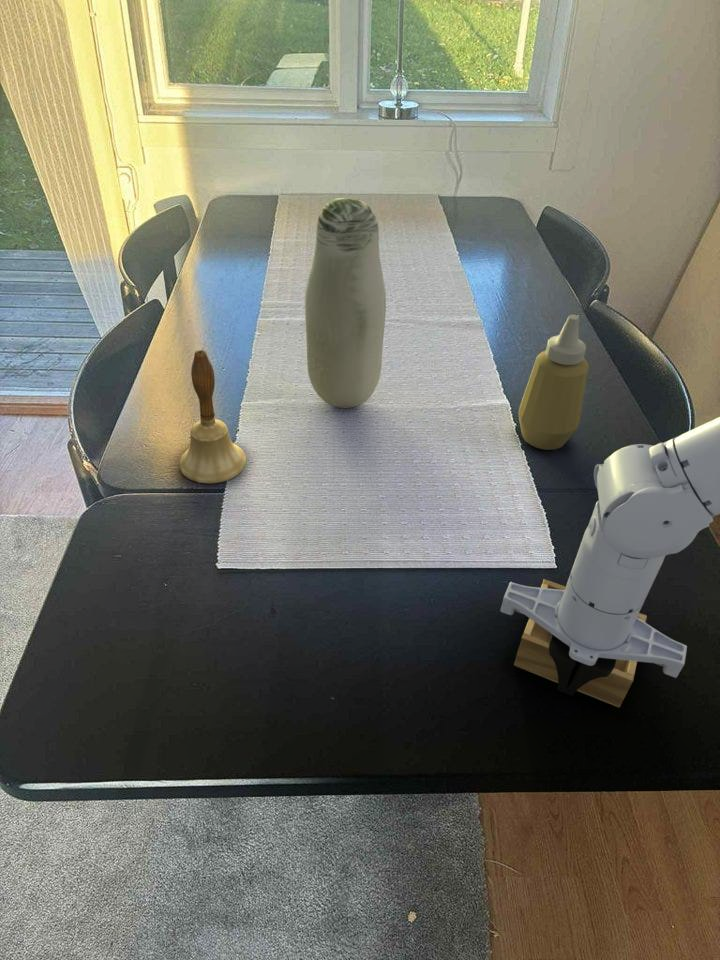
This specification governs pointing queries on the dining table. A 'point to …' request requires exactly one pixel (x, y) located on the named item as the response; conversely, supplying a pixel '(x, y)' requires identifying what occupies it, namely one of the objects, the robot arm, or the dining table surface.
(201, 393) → the hand bell
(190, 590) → the dining table surface
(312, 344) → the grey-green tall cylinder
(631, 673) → the cutlery caddy
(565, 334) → the squeeze bottle
